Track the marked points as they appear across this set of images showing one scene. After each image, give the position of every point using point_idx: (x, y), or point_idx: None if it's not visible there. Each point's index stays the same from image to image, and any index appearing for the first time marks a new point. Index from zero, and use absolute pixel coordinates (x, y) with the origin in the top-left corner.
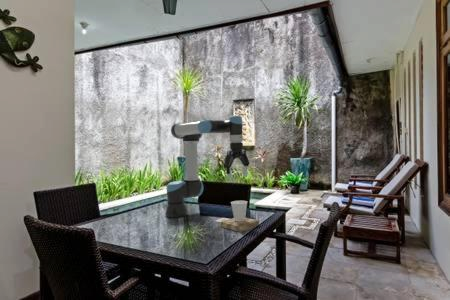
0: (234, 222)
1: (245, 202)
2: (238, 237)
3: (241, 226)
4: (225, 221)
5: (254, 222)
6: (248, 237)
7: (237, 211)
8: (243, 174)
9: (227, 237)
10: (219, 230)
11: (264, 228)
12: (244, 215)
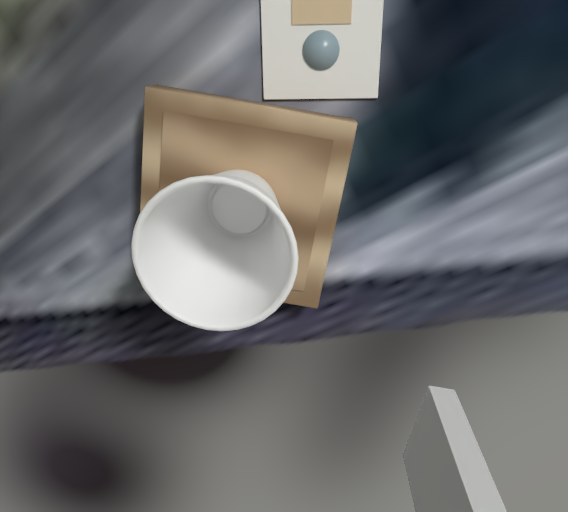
0: None
1: (285, 283)
2: (67, 297)
3: None
4: (171, 119)
5: None
6: (98, 338)
7: (173, 248)
8: (434, 437)
9: (28, 248)
10: (94, 127)
11: (276, 340)
12: (232, 264)
